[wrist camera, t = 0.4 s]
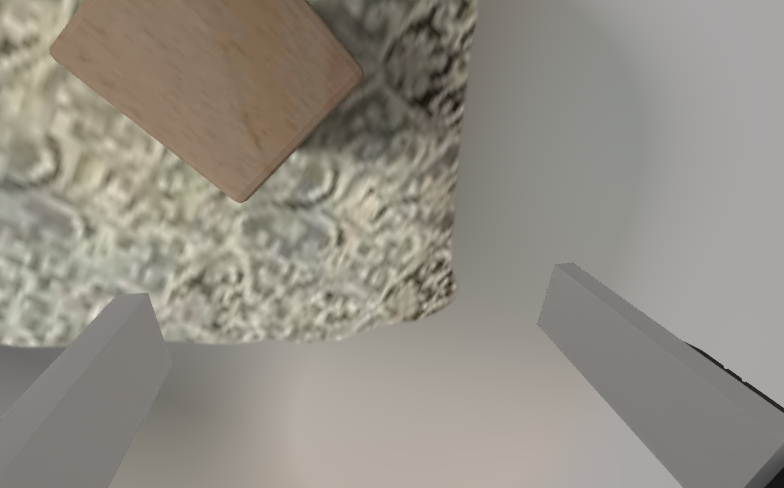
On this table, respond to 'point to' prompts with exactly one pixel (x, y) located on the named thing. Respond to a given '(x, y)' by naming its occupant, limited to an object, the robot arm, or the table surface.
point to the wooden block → (213, 77)
